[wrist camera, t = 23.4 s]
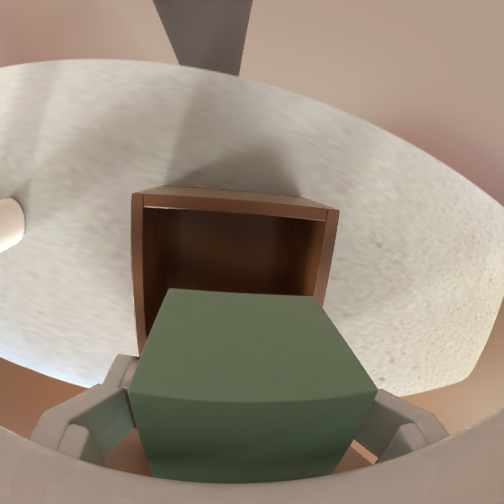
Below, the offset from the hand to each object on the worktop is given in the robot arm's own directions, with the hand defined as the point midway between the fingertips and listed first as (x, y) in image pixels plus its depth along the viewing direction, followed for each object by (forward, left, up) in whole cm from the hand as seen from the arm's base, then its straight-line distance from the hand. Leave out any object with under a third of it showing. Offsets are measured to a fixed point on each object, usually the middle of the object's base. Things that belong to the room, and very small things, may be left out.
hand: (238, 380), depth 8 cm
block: (0, 0, -2) cm, 2 cm away
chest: (+3, 0, -18) cm, 18 cm away
